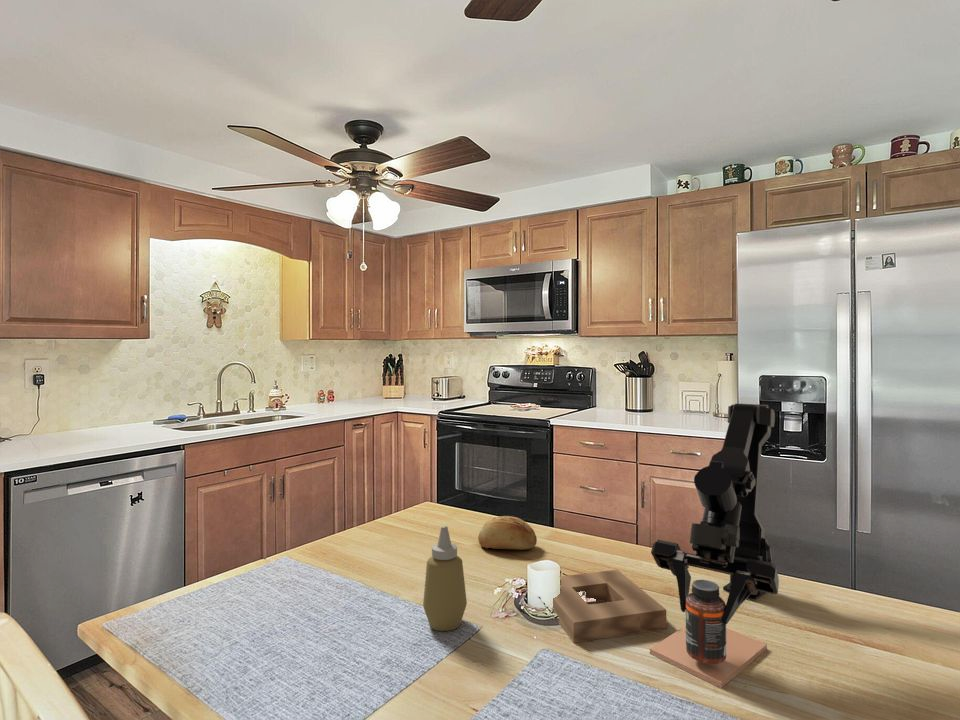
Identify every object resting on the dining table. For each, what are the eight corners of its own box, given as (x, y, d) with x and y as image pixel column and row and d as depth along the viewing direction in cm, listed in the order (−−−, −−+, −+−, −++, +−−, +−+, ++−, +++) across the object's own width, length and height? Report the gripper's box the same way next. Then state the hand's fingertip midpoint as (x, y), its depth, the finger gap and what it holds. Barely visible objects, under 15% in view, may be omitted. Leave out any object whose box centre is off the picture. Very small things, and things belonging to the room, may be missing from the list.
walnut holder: (617, 585, 115) (617, 569, 115) (666, 628, 97) (666, 609, 97) (537, 596, 110) (537, 579, 110) (573, 642, 93) (573, 622, 93)
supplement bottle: (735, 659, 84) (735, 587, 84) (709, 671, 81) (709, 597, 81) (702, 641, 89) (702, 573, 89) (677, 651, 87) (677, 581, 86)
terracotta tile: (698, 621, 100) (698, 617, 100) (766, 648, 91) (766, 644, 91) (649, 653, 89) (649, 648, 89) (721, 688, 80) (721, 682, 80)
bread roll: (535, 557, 131) (535, 524, 131) (474, 554, 133) (474, 522, 133) (537, 543, 141) (537, 512, 140) (480, 540, 143) (480, 510, 143)
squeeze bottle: (423, 614, 103) (422, 520, 103) (465, 612, 104) (464, 519, 104) (422, 636, 95) (421, 535, 95) (468, 634, 96) (467, 533, 96)
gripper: (654, 493, 93) (631, 579, 85) (776, 512, 82) (764, 613, 74) (668, 525, 100) (648, 608, 91) (783, 546, 89) (773, 643, 80)
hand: (703, 616), depth 84 cm, fingers closed on supplement bottle, 6 cm apart
